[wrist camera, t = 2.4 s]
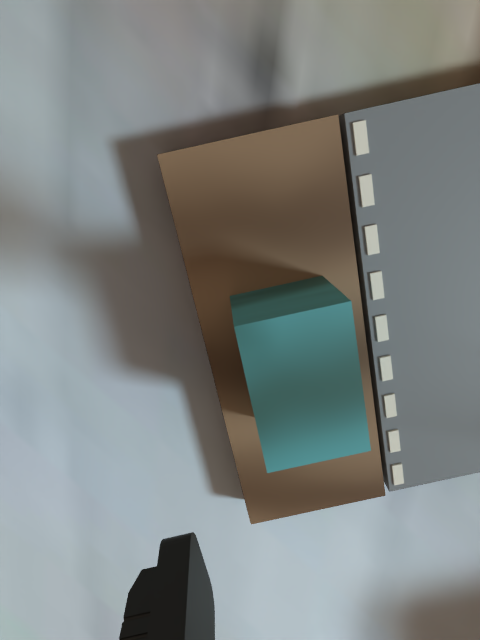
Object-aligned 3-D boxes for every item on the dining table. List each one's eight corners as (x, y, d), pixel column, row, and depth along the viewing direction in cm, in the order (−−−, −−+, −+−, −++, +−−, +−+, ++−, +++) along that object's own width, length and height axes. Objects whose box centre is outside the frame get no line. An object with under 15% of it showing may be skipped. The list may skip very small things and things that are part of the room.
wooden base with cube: (161, 156, 18) (139, 147, 12) (328, 119, 18) (376, 94, 12) (248, 503, 23) (258, 596, 18) (374, 476, 23) (421, 561, 18)
